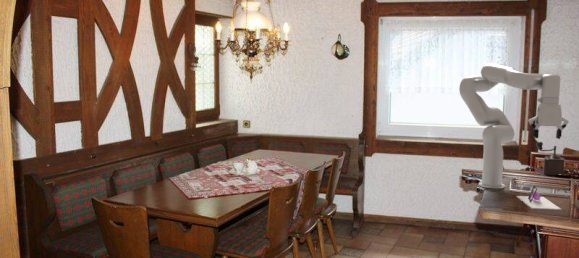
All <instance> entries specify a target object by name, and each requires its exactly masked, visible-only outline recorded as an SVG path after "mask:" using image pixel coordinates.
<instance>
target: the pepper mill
mask: <svg viewBox="0 0 579 258" xmlns="http://www.w3.org/2000/svg"><path fill="white" fill-rule="evenodd" d="M535 145H536V147H537V150H538V151H540V152H552V151H553V154H550V155H549V156H547V155H546V156H545V155H544V156H545V157H544V161H543V171H542V174H543V175H544V176H553V175H558V174H564V171H565V158H564V157H561V156H559V155H558V154H556V151H557V146H556V145H555V146H553V148H552V149H543V148H544V147H543V146H544V143H543V142H542V141H537V142H536V143H535Z"/></svg>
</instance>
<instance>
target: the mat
mask: <svg viewBox="0 0 579 258" xmlns="http://www.w3.org/2000/svg"><path fill="white" fill-rule="evenodd" d="M528 197H529V195H527V196H526V195H516V199H519V200H520V201H521V202H522V201H523V202H522V203H523V204H525V205H526V206H527V207H528V208H530V209H532V210H549V211H550V210H551V211H553V210H554V211H562V208H560V207H559V206H557V205H556V204H554V203H553V202H551V201H550V200H549V199H547V198H546V197H544V196H540V201H539V200H535V199H534V198H533V199H532V198H530V199H532V201H531V202H530V201H529V199H528Z"/></svg>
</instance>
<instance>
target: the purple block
mask: <svg viewBox="0 0 579 258" xmlns="http://www.w3.org/2000/svg"><path fill="white" fill-rule="evenodd" d="M537 191H538V188H537V186H536V184H535V185H533V187H532V189H531V191H530V193H529V195H528V196H529V197H528V199H529V201H530V202H531V201H532V199H533V198H534V199H535V200H539V201H540V197H541V195H540V193H539V192H537ZM530 198H532V199H530Z"/></svg>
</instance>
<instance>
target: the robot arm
mask: <svg viewBox="0 0 579 258" xmlns="http://www.w3.org/2000/svg"><path fill="white" fill-rule="evenodd" d="M480 69H481V70H480V75H469V76H468V75H467V76H465V77H464V78H463V79H462V80H461V81H460V83H459V96H460V97H461V99H462V101H464V103H465V105H466V106H467V108H468V110H469V112H470V113H471V114H472V116H473V118H474V120H475V122H476V123H477V125H478V126H482V127H485V128H484V129H483V131H482V135H481V136H482V142H483V143H482V144H483V154H482V155H483V156H482V170H481V171H482V174H481V181H479V182H478V186H479V187H482V188H487V189H493V190H494V189H495V190H497V189H505V187H506V185H505V184H504V183H503V182H502V181H503V168H504V167H503V165H504V148H503V145H502V144H505V143H510V142H511V141H513V140H514V139H515V130H514V129H515V128H513V126H512V124H511V123H510V121H509V120H508V117H507V115H506V114H505V113H504V112H503V111H502V109H500V108H498V107H494V106H493V107H490V106H488V105H487V104H486V102H485V100H484V99H483V97H482V96H480V95H479V94H478V93H481V92H482V93H483V92H488V91H490V90H492V89H493V88H495V87H496V86H497V85H498V84H503V85H507V86H508V87H509V86H510V87H512V88H516V89H521V90H526V91H530V90H531V91H532V90H533V91H534V90H535V91H537V90H541V93H540V98H537V102H539V104H538V107H537V109H536V111H537V112H536V115H535V116H534V117H532V118H529V119H528V124H529V125H530V126H531V128H532V129H533V137H534V138H535V139H538V138H539V131H540V130H539V128H540V127H556V128H557V129H556V133H555V135H556V136H555V138H556V139H558V140H560V139H561V137H562V133H563V132H562V131H564V129H565V128H566V127H567V125H568V124H569V120H568V119H565V118H564V117H562V114H563V113H562V105H561V104H560V91H561V90H560V89H561V76H560V75H559V74H553V73H552V74H551V73H550V74H548V73H547V74H543V73H526V72H520V71H516V70H515V68H513V67H510V66H505V64H502V63H487V64H485V65H484V66H482V68H480ZM534 122H535V124H534Z"/></svg>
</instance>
